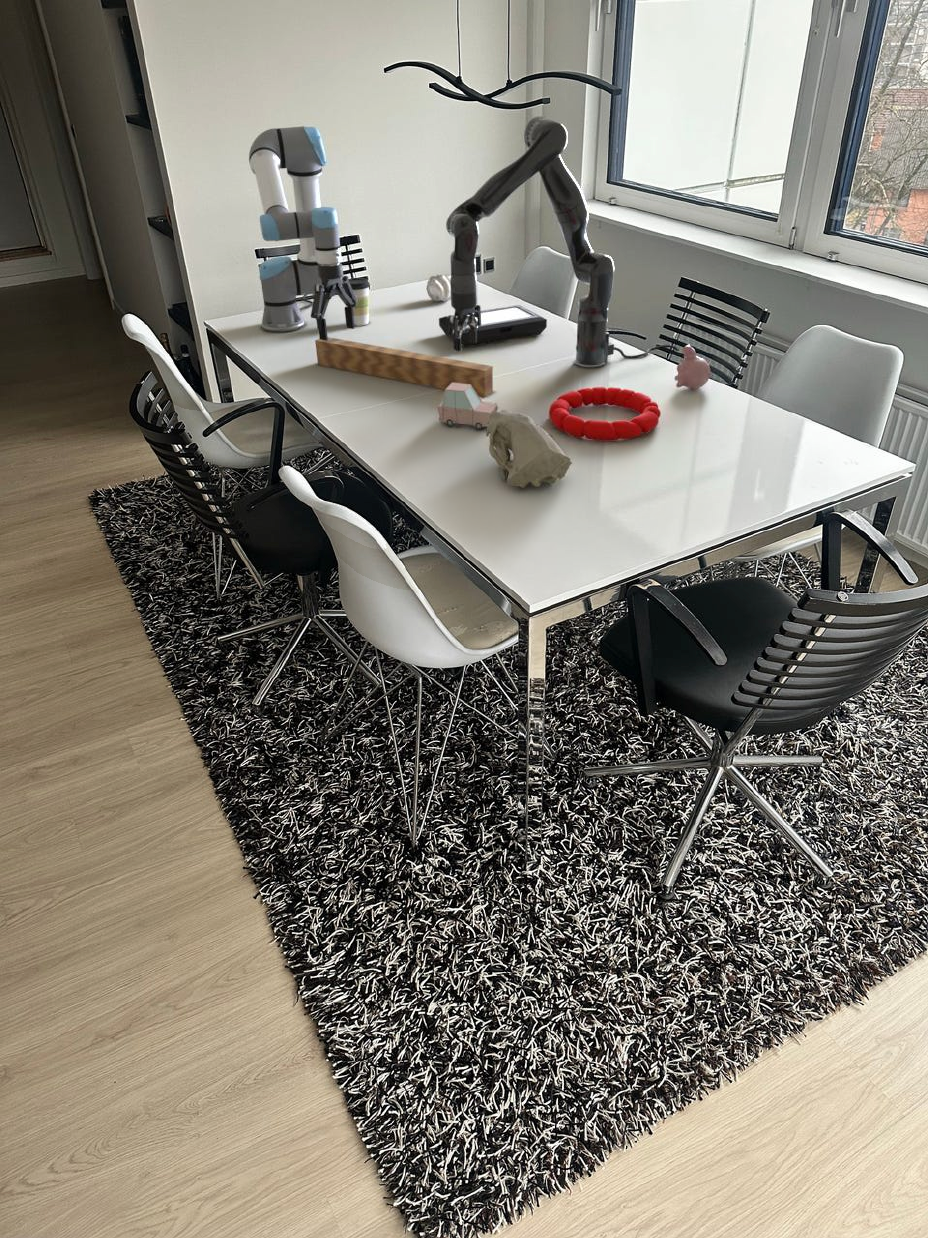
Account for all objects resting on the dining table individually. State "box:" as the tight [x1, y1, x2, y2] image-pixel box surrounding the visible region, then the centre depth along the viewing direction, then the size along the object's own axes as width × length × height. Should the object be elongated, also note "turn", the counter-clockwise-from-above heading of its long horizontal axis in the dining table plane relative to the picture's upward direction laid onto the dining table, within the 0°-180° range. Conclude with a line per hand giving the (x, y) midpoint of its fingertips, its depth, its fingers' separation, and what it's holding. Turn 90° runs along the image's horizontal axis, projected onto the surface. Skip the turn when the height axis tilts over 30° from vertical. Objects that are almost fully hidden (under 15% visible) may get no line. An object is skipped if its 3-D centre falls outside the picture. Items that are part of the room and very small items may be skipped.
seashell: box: [426, 274, 451, 302], centre depth 346 cm, size 10×15×10 cm
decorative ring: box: [548, 386, 661, 442], centre depth 242 cm, size 7×30×30 cm
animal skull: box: [485, 409, 573, 489], centre depth 216 cm, size 17×25×20 cm
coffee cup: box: [349, 277, 371, 327], centre depth 323 cm, size 10×10×15 cm
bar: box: [314, 336, 494, 398], centre depth 276 cm, size 64×4×8 cm, turn 58°
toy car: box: [437, 383, 499, 431], centre depth 243 cm, size 9×15×10 cm, turn 70°
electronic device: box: [438, 304, 548, 348], centre depth 309 cm, size 32×6×20 cm
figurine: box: [674, 344, 711, 390], centre depth 259 cm, size 9×11×12 cm
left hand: (337, 333), depth 282 cm, fingers open, 13 cm apart
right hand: (465, 346), depth 260 cm, fingers open, 8 cm apart
